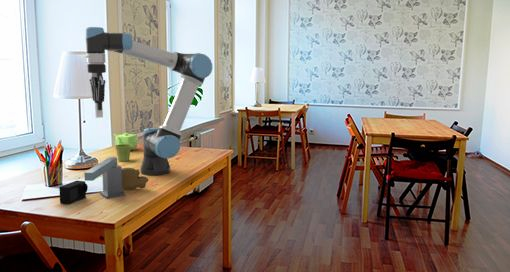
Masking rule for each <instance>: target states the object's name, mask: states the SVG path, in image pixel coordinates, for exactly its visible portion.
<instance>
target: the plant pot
mask: <svg viewBox="0 0 510 272" xmlns="http://www.w3.org/2000/svg"><path fill="white" fill-rule="evenodd" d="M114 147H115V150H116V155H117V156H116V157H117V162H118V161H119V162H128V161H130V157H131V151H132V150H131V147H132V145H130V144H119V145H116V144H115V145H114Z"/></svg>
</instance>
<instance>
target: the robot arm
mask: <svg viewBox="0 0 510 272" xmlns="http://www.w3.org/2000/svg"><path fill="white" fill-rule="evenodd" d="M85 49H86V50H85V51H86V56H85V58H86V62H87V65H86V67H87V69H86V70H87V73H90V74H91V77H90V78H91V79H89V84H90V90H91V97H92V101H94V109H95V118H104V111H103V103H104V102H105V92H106V91H105V87H106V79H104V77H103V74H104V73H107V66H106V64H105V63H106V52H105V51H109V52H114V53H117V54H121V55H125V56H128V57H131V58H135V59H138V60H141V61H142V60H143V61H146V62H148V63H149V62H150V63H153V64H156V65H159V66H163V67H166V68H168V69H169V70H170V71H172V72H176V73H179V74H180V77H181V81H180V84H179V86H178V88H177V91H176V93H175V95H174V99H173V100H172V103H171V106H170V108H169V111H168V112H167V115H166V118H165V120H164V123H163V124H162V125H159V126H158V127H156V128H155V127H152V128H151V127H150V128H149V127H148V128H145V129H143V135H142V136H143V137H142V138H143V160H142V162H141V164H140V165H141V166H140V169H139V172H140V174H142V175H146V176H160V175H161V176H162V175H166V174H170V172H171V166H170V163H169V160H168V159H172V158H174V157H175V156H177V155H178V153H179V151H180V149H181V142H180V140H181V138H182V133H181V130H182V127H183V125H184V122H185V120H186V117H187V115H188V113H189V111H190V108H191V105H192V103H193V100H194V98H195V95H196V93H197V91H198V88H199V87H200V86H202V85H203V84H204V82H205V79H206V78H207V77H209V76H210V75H211V74H212V72H213V63H212V60H211V59H210V57H209V56H208V55H206V54H205V53H201V52H200V53H199V52H196V53H180V52H177V51H173V52H170V51H167V50H163V49H162V48H158V47H154V46H151V45H148V44H145V43H141V42H138V41H135V40H133V37H132V34H131V33H127V32H126V33H125V32H105V29H104V28H103V27H100V26H99V27H98V26H89V27H86V28H85Z"/></svg>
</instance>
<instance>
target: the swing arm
mask: <svg viewBox="0 0 510 272" xmlns="http://www.w3.org/2000/svg"><path fill="white" fill-rule="evenodd" d="M116 165H118V156H107V157H106V158H105V159H104V160H103V161H101V162H99V163H97V164H96V165H93V166H92V167H91V168H90V169H88V170H86V171H84V181H85V182H86V181H87V182H88V181H89V182H90V181H91V182H92V181H95V180H96V179H98V178H99V177H101V176H103V173H105V172H106V171H108V170H109V169H110V168H112V167H113V166H116Z"/></svg>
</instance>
